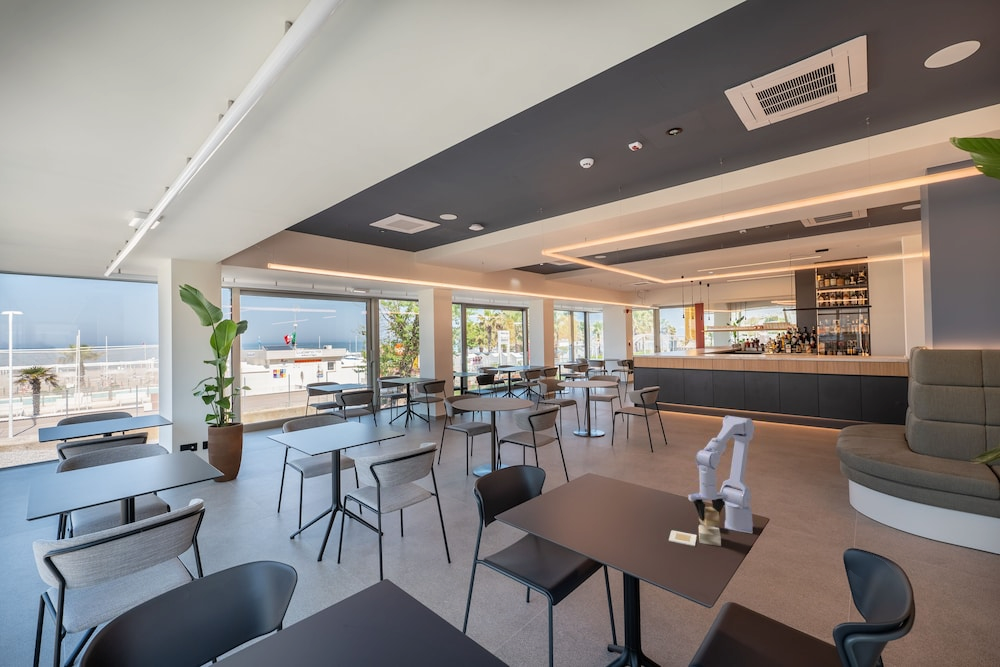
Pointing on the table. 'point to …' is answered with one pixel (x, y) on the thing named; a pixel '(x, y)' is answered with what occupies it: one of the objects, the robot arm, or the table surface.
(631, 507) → the table surface
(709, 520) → the oak cube
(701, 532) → the base block
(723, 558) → the table surface
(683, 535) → the card
